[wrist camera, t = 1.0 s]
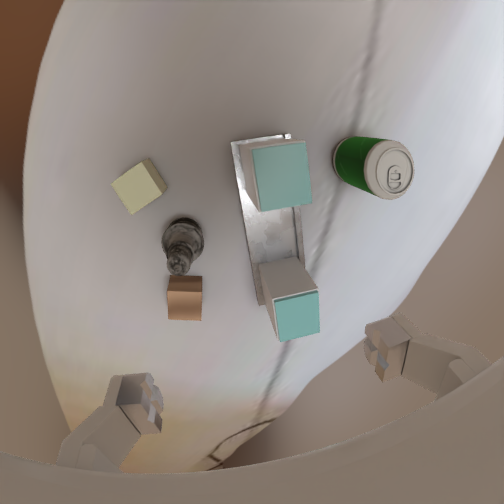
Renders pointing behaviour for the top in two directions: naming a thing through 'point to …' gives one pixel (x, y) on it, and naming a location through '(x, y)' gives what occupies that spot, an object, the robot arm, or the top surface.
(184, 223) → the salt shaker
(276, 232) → the rail
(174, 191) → the top surface
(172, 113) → the top surface
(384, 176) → the soda can
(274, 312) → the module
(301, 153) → the block
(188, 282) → the block walnut
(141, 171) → the block olive
